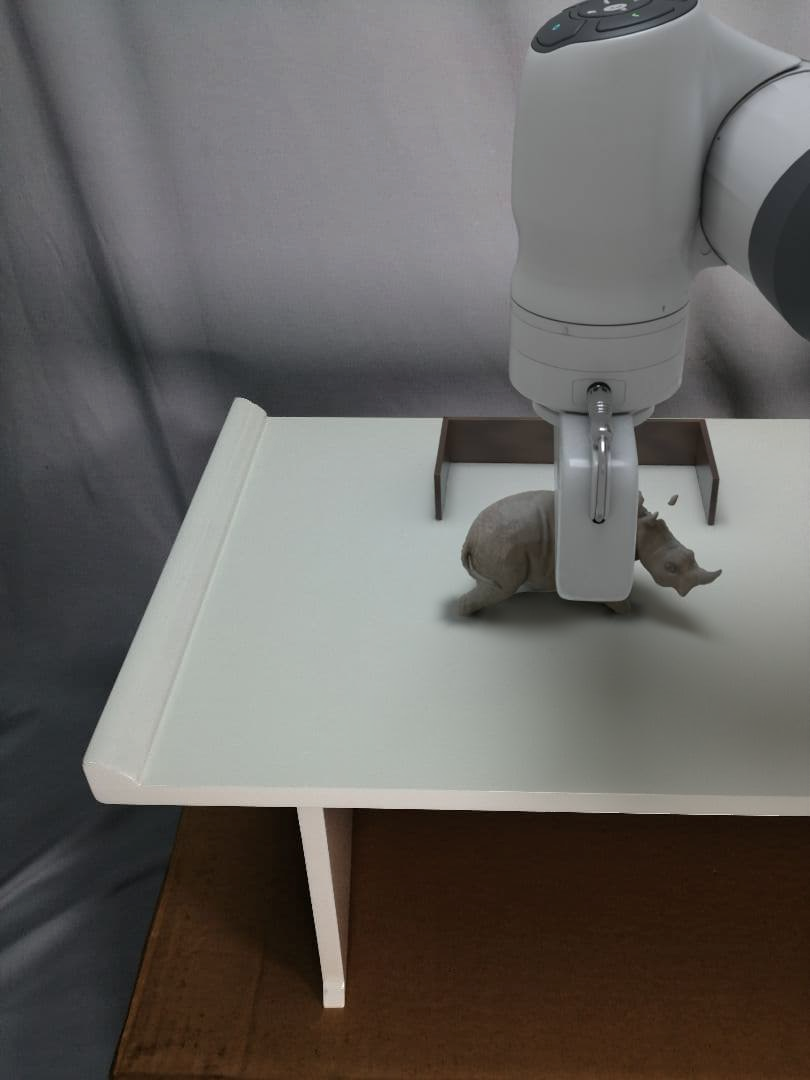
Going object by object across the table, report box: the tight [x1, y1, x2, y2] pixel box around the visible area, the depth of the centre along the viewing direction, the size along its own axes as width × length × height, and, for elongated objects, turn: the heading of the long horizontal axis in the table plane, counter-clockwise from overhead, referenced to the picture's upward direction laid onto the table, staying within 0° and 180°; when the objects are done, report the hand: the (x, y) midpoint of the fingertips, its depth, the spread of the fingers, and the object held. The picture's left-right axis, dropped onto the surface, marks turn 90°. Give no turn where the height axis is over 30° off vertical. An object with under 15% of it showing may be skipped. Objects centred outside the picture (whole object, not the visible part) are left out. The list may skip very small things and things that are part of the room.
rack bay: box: [433, 416, 720, 525], centre depth 92 cm, size 21×10×4 cm, turn 84°
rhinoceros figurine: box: [456, 489, 723, 617], centre depth 78 cm, size 8×14×15 cm
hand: (583, 570), depth 67 cm, fingers closed
